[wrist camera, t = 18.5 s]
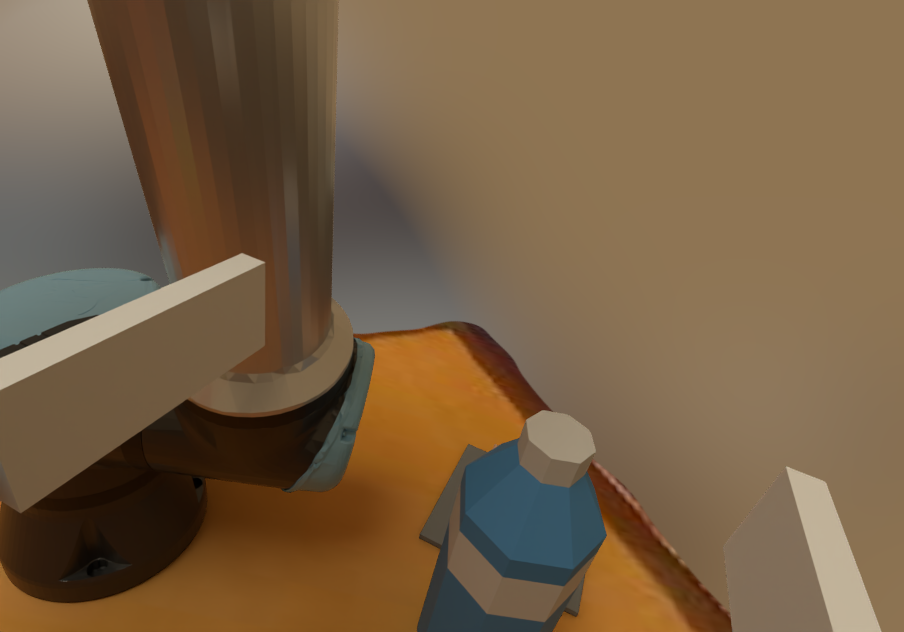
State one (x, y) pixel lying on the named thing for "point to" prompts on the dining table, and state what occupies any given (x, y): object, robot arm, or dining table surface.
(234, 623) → the dining table surface
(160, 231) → the robot arm
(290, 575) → the dining table surface
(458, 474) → the mat
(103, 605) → the dining table surface
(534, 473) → the water bottle
